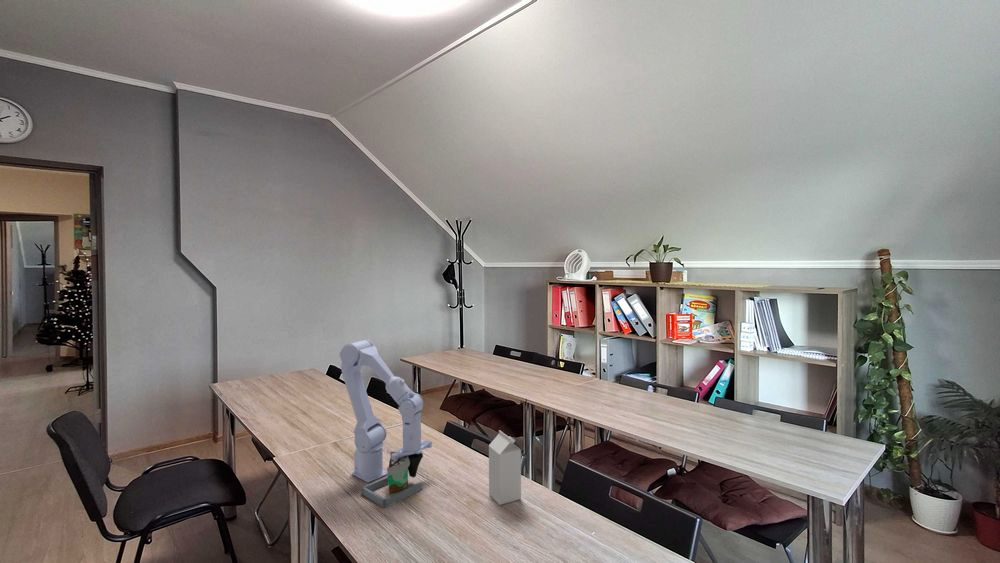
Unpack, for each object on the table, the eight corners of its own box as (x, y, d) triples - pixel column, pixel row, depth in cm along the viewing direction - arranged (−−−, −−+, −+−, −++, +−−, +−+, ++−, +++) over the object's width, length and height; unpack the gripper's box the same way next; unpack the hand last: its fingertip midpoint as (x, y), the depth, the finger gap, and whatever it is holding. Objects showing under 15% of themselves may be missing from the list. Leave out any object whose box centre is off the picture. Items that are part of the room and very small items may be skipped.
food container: (411, 499, 133) (408, 466, 133) (389, 502, 132) (386, 468, 132) (412, 479, 146) (410, 448, 145) (392, 481, 145) (390, 451, 144)
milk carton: (499, 505, 130) (499, 440, 129) (488, 494, 137) (488, 432, 136) (521, 499, 134) (521, 436, 133) (509, 488, 140) (509, 428, 139)
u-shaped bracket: (361, 493, 137) (361, 487, 137) (399, 477, 148) (399, 471, 147) (384, 507, 130) (384, 500, 129) (422, 489, 140) (422, 482, 140)
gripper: (400, 444, 135) (401, 489, 136) (437, 430, 146) (438, 471, 147) (386, 438, 140) (387, 481, 141) (423, 425, 151) (424, 465, 152)
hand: (412, 476), depth 144 cm, fingers closed
